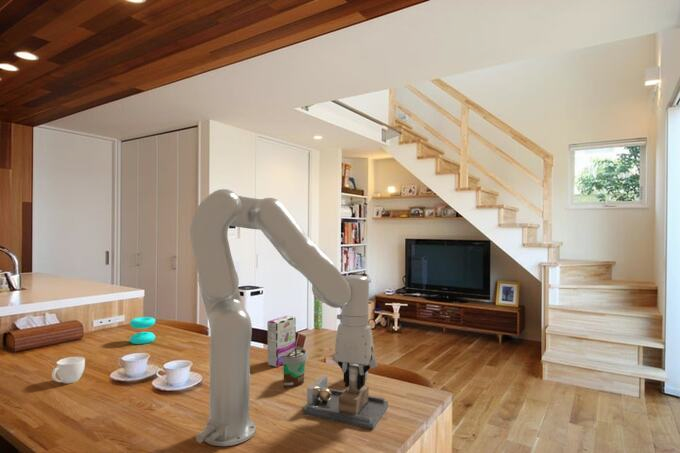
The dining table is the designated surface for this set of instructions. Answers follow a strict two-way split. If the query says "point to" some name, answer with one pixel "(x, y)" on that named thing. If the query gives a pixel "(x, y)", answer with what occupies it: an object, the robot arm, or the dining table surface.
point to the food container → (294, 367)
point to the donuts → (142, 336)
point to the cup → (69, 369)
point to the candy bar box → (281, 339)
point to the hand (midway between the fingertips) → (354, 386)
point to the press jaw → (353, 393)
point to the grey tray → (327, 406)
